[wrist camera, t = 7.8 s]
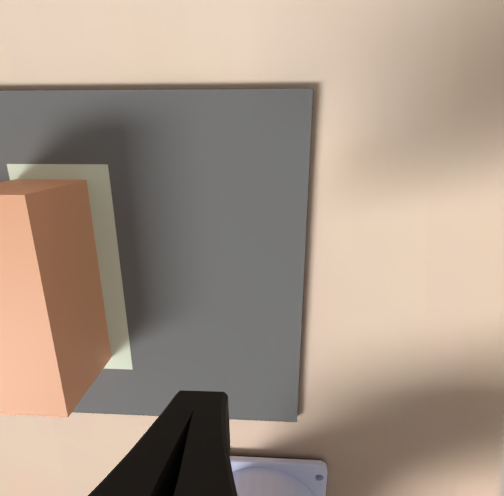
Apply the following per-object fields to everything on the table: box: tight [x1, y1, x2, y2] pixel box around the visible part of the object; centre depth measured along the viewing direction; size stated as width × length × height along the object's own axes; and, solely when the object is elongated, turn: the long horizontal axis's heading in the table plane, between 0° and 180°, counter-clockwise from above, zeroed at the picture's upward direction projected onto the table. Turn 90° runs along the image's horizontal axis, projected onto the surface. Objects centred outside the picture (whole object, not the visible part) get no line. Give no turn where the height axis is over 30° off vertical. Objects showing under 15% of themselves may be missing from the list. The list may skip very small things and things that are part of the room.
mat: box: [0, 89, 313, 422], centre depth 19 cm, size 18×24×1 cm
